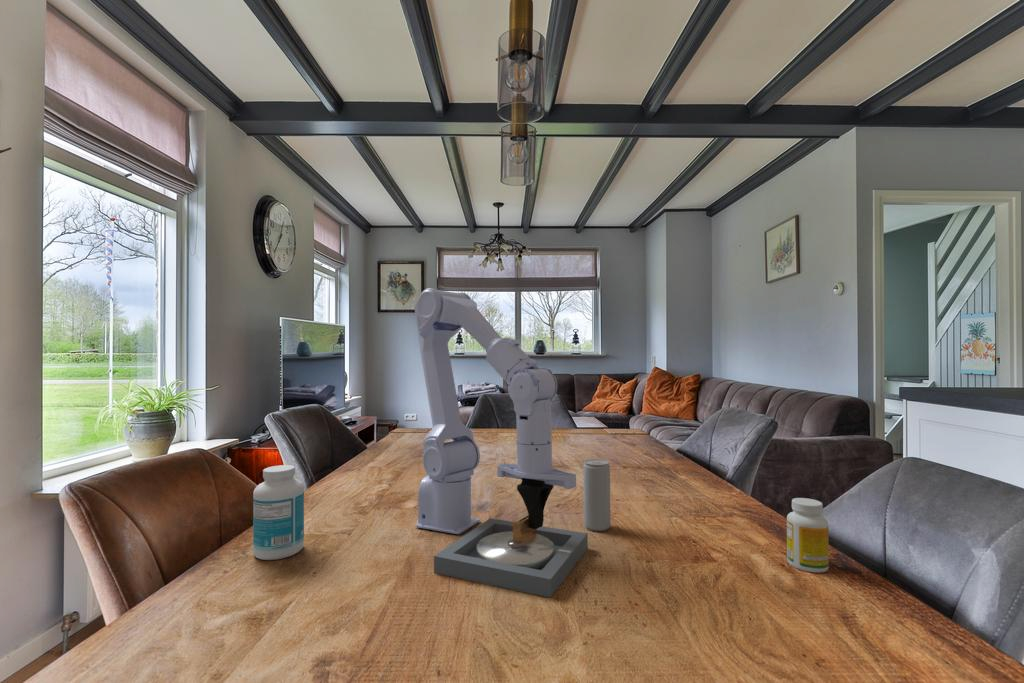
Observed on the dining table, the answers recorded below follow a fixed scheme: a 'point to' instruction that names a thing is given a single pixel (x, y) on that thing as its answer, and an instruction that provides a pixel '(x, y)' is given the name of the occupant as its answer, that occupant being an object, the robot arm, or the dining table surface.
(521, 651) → the dining table surface
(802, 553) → the supplement bottle
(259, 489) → the pill bottle
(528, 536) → the dial
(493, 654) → the dining table surface
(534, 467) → the robot arm
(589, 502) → the beverage can
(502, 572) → the slate tray
